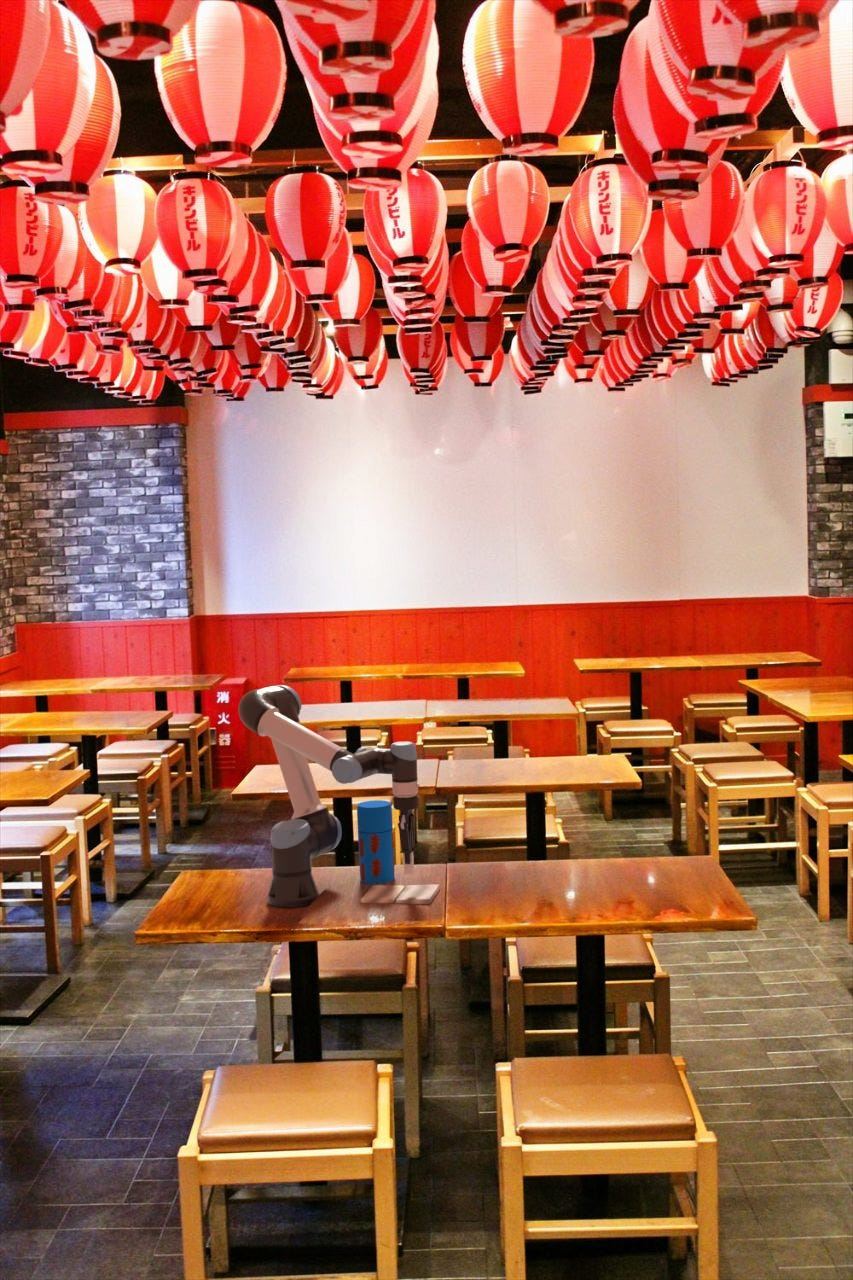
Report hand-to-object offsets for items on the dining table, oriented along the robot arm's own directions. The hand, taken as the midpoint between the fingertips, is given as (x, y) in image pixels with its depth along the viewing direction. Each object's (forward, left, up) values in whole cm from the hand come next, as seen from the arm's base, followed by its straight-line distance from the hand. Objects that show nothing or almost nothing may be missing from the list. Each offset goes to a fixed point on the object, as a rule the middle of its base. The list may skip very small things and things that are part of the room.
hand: (409, 873), depth 352 cm
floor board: (-3, 0, -8) cm, 8 cm away
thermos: (-14, +17, -8) cm, 24 cm away
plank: (+3, 0, -7) cm, 8 cm away
